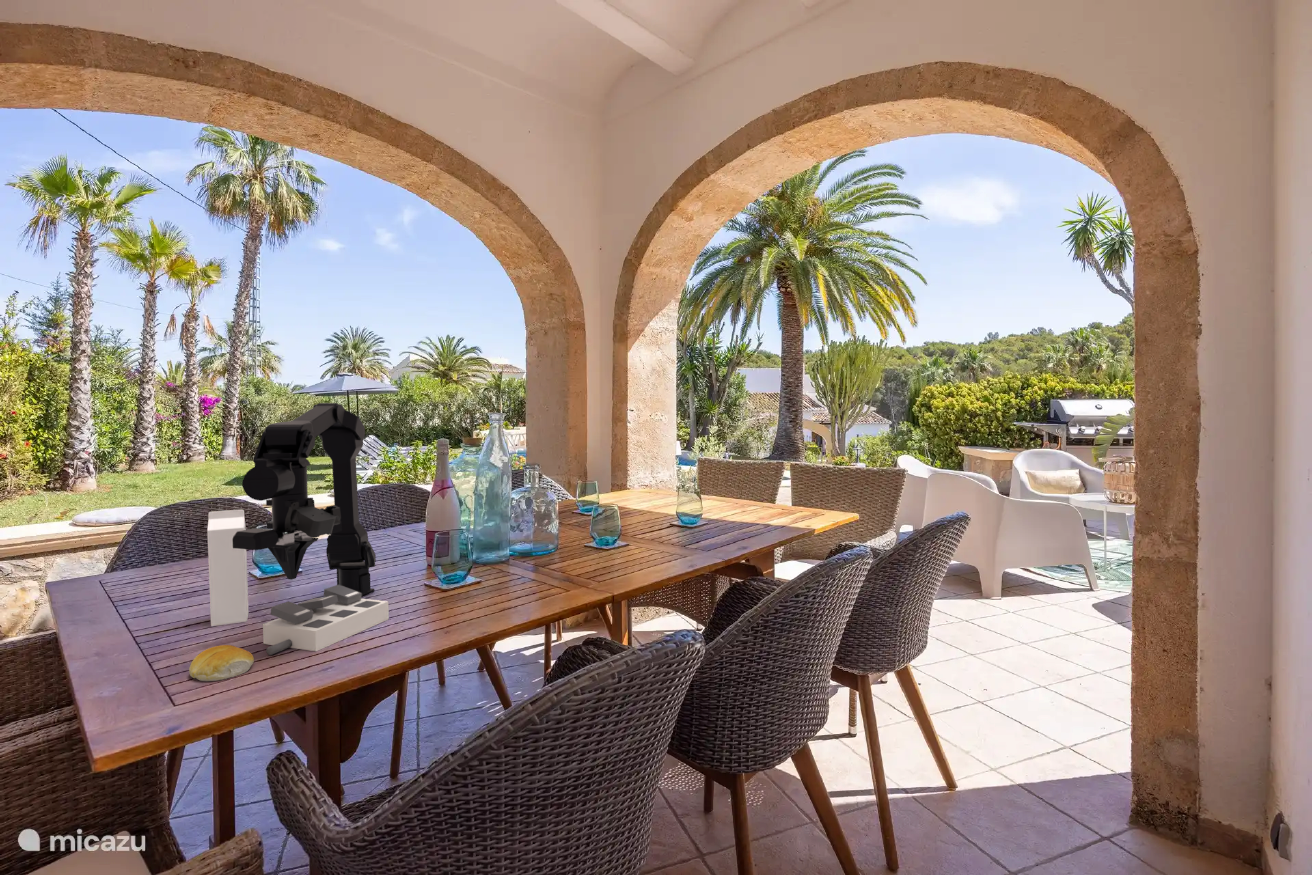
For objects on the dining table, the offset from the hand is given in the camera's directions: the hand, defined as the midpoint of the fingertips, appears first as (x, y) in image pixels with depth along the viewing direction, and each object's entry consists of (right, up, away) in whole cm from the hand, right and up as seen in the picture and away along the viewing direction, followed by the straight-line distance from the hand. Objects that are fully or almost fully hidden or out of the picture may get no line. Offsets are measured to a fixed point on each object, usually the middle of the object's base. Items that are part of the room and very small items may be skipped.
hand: (291, 578), depth 119 cm
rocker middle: (+2, -6, +6) cm, 9 cm away
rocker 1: (0, -7, 0) cm, 7 cm away
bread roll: (-4, -12, -13) cm, 18 cm away
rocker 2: (+4, -6, +12) cm, 13 cm away
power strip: (+3, -11, +3) cm, 12 cm away
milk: (-19, -11, +12) cm, 25 cm away
